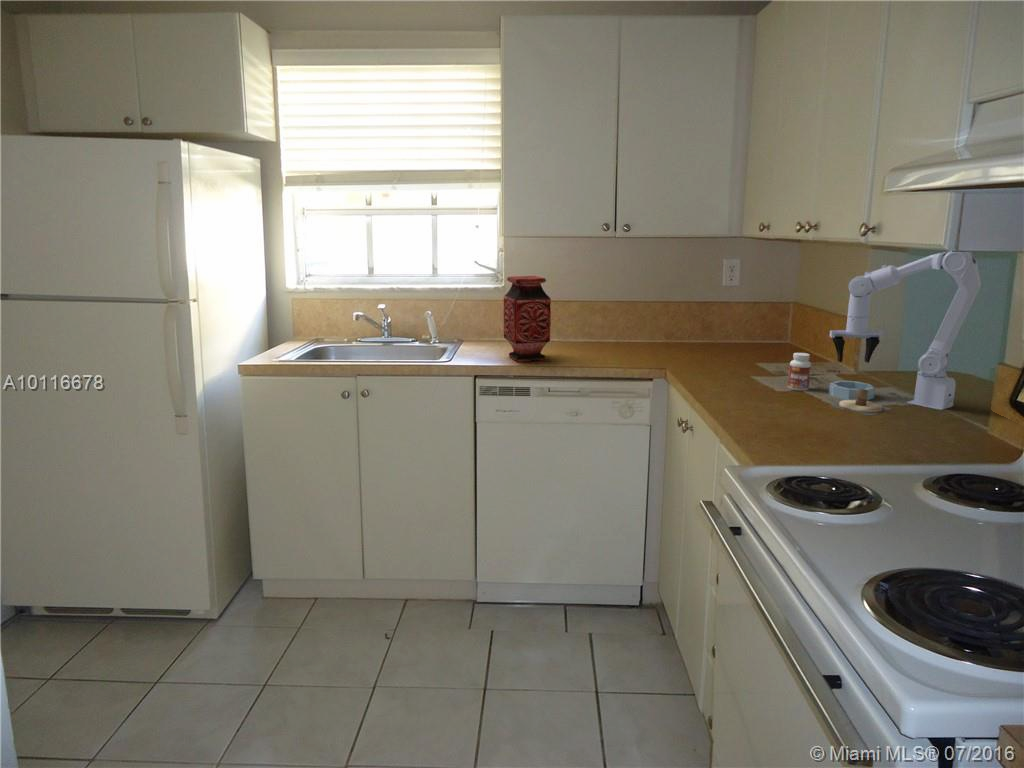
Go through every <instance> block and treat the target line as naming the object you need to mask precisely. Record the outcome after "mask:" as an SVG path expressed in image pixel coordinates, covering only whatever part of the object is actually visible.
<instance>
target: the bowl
mask: <svg viewBox="0 0 1024 768" xmlns="http://www.w3.org/2000/svg"><path fill="white" fill-rule="evenodd" d="M857 389H865V390H868V395H867V401H869V400H872V399H874V398H875V392H876V391H875V390H876V387H874V385H872V384H870V383H865V382H862V381H855V380H854V381H853V380H836V381H832V382H829V388H828V394H829V395H830V396H832V397H833V398H838V399H841V400H856V394H857Z"/></svg>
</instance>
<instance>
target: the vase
mask: <svg viewBox="0 0 1024 768" xmlns="http://www.w3.org/2000/svg"><path fill="white" fill-rule="evenodd" d="M506 280H507V281H508V282H509V283H511V286H510V288H509V290H508V291H507V292H506V294H504V295H503V338H504V339H505V340H507V343H509V345H511V348H512V350H513V351H511V352H509V353H508V357H510V358H511V359H512V360H514V361H515V360H516V361H515V362H517V363H518V362H519V363H521V362H522V363H524V362H523V361H526V362H533V361H532V360H534V361H544V359H545V360H546V356H545V355H544V354H543V353H542V350H543V349H544V347H545V346H546V345H547V344H548V343H549V342H551V325H552V324H551V308H552V307H551V302H552V299H551V297H550V296H549V295H548V294H547V293H546V291H545V290H544V288H543V286H542V284H543V283H546V281H547V279H546V278H545V277H541V276H536V275H523V276H522V275H521V276H518V275H517V276H512V275H511V276H508V277H507V278H506Z"/></svg>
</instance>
